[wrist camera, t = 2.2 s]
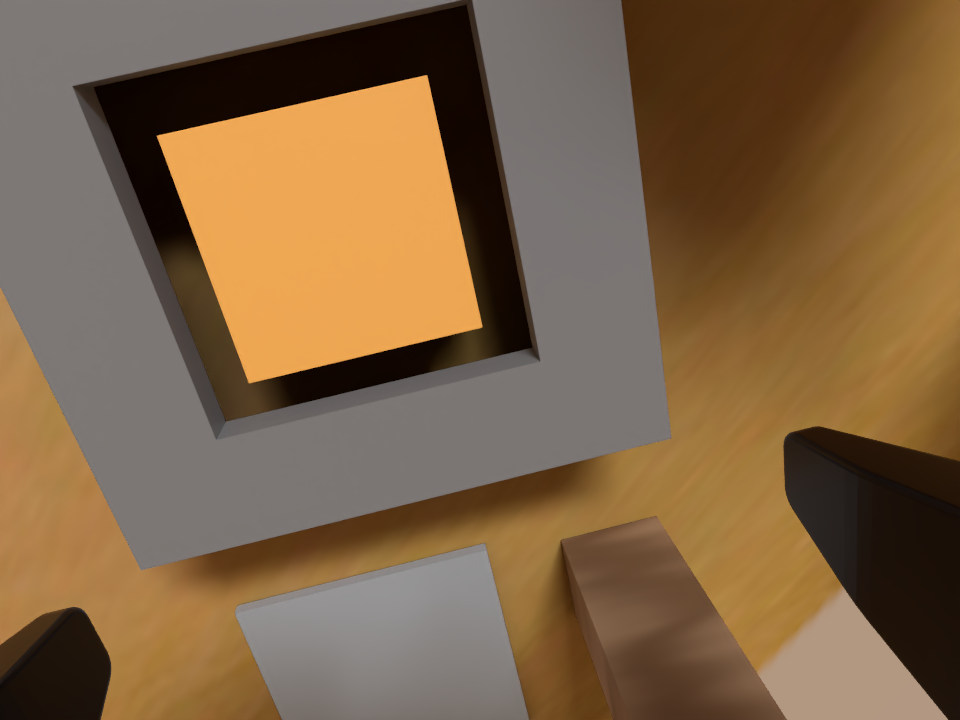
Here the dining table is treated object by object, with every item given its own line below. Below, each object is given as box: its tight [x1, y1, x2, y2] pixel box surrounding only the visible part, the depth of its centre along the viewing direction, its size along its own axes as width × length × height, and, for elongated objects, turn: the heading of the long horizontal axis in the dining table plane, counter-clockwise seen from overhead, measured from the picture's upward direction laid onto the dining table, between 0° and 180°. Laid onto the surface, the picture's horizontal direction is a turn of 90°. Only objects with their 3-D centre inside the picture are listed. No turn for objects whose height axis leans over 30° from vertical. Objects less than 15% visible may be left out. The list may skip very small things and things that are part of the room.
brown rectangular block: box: [561, 516, 787, 720], centre depth 21 cm, size 4×4×10 cm
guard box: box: [0, 0, 671, 570], centre depth 17 cm, size 14×14×5 cm
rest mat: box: [235, 543, 529, 720], centre depth 25 cm, size 9×9×1 cm
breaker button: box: [157, 75, 482, 383], centre depth 16 cm, size 6×6×3 cm
